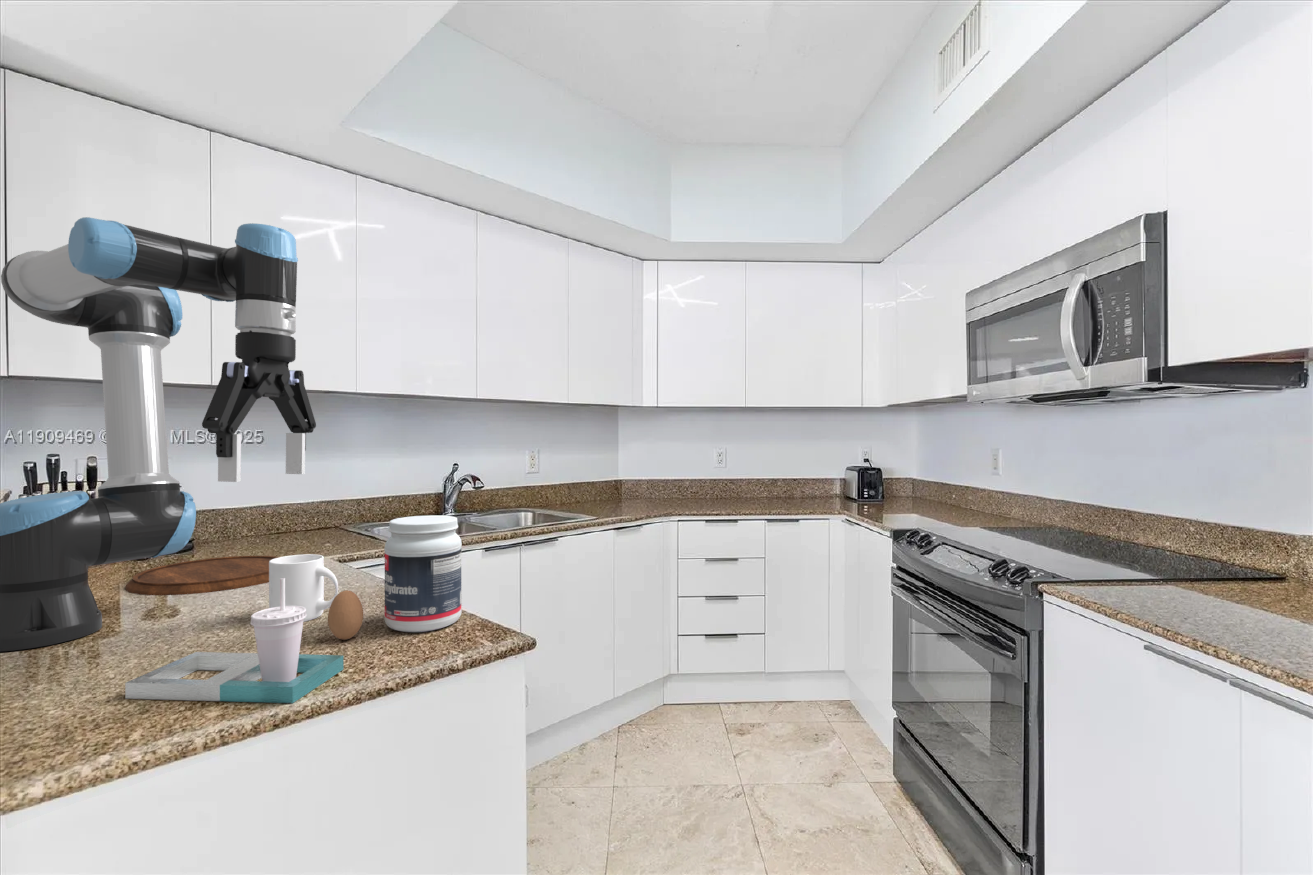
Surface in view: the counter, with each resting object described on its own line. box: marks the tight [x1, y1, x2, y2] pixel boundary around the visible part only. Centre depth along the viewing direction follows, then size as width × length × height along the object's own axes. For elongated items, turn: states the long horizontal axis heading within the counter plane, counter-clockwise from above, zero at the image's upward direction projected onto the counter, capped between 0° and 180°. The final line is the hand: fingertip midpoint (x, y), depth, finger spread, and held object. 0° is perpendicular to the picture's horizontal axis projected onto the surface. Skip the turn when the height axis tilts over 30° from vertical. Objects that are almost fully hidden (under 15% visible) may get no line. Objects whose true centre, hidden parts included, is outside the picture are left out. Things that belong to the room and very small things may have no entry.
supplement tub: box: [383, 514, 463, 633], centre depth 108 cm, size 13×13×18 cm
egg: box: [327, 589, 364, 641], centre depth 100 cm, size 5×5×8 cm
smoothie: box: [250, 578, 307, 682], centre depth 82 cm, size 6×6×14 cm
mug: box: [268, 553, 339, 623], centre depth 112 cm, size 9×12×11 cm
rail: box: [124, 651, 345, 704], centre depth 82 cm, size 22×11×2 cm, turn 86°
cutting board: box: [125, 555, 280, 596], centre depth 143 cm, size 32×32×3 cm
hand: (264, 477), depth 91 cm, fingers open, 13 cm apart
